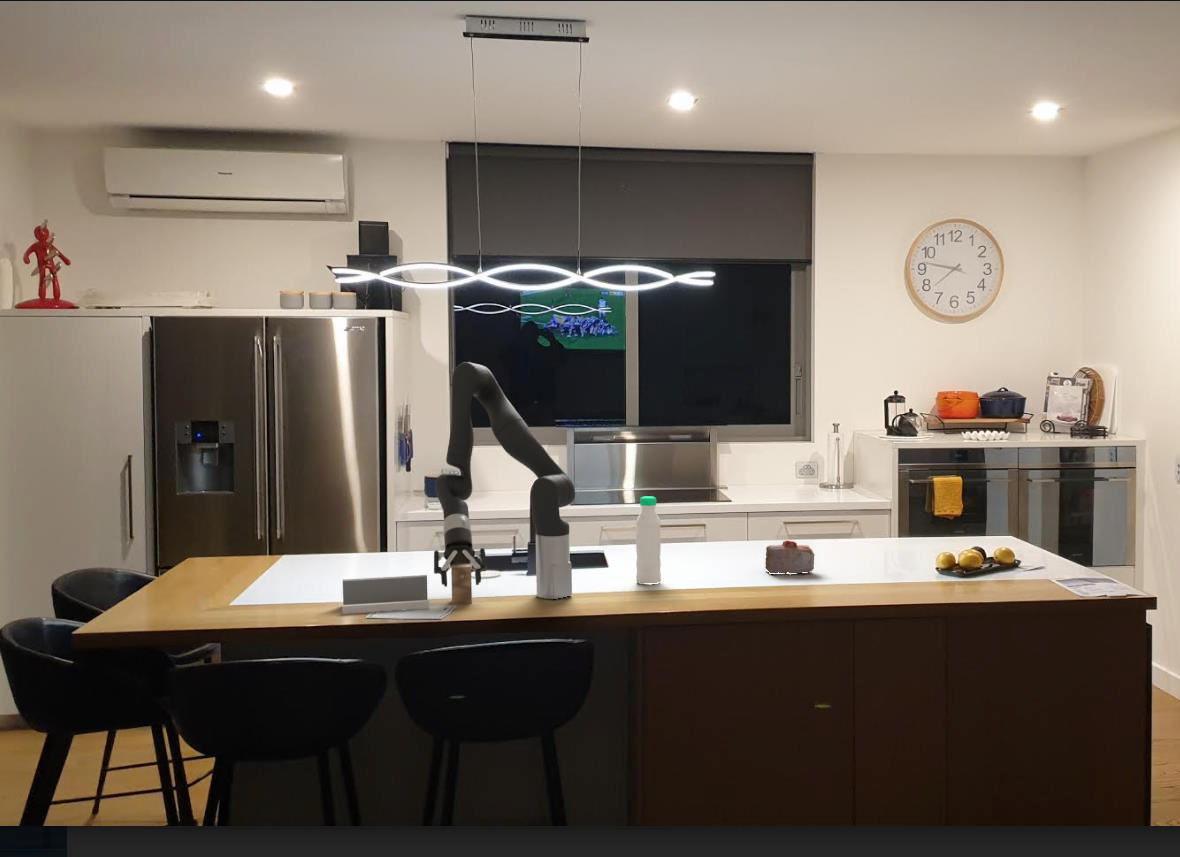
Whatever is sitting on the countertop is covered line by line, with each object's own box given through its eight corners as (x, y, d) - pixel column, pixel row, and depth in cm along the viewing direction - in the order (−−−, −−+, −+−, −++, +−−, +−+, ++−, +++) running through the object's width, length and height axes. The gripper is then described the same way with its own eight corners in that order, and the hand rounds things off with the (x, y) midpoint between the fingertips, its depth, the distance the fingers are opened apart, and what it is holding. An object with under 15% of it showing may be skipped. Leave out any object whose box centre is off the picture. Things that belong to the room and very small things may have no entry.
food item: (807, 569, 301) (807, 537, 301) (815, 575, 293) (816, 542, 293) (763, 570, 300) (763, 538, 300) (770, 576, 292) (770, 543, 292)
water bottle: (659, 579, 290) (659, 495, 288) (662, 585, 283) (661, 498, 281) (635, 580, 289) (634, 495, 287) (637, 585, 282) (636, 499, 280)
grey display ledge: (427, 600, 268) (426, 574, 268) (428, 608, 259) (428, 582, 259) (343, 605, 264) (342, 579, 263) (342, 614, 255) (341, 587, 254)
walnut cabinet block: (470, 599, 268) (469, 563, 268) (472, 604, 264) (471, 567, 263) (451, 600, 267) (451, 564, 267) (453, 605, 263) (452, 568, 262)
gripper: (432, 527, 270) (435, 578, 260) (484, 525, 273) (489, 575, 263) (431, 543, 276) (434, 593, 266) (482, 540, 279) (487, 590, 268)
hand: (461, 584), depth 264 cm, fingers open, 8 cm apart
